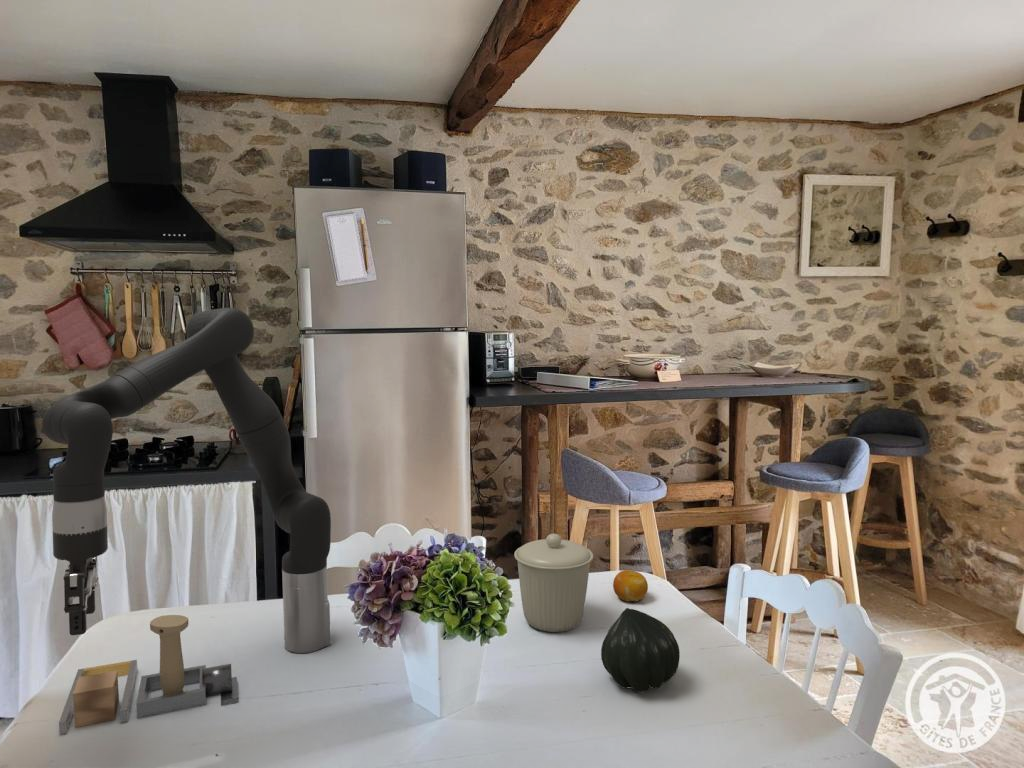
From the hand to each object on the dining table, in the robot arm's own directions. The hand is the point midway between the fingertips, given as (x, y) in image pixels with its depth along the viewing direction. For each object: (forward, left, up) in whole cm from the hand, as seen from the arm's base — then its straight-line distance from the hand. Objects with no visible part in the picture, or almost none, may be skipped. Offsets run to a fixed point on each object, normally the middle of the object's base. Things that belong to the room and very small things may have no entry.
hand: (83, 623), depth 115 cm
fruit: (-116, -18, -22) cm, 119 cm away
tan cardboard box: (0, -8, -20) cm, 22 cm away
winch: (-15, -9, -22) cm, 28 cm away
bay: (0, -13, -22) cm, 25 cm away
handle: (-12, -9, -21) cm, 26 cm away
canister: (-91, -13, -22) cm, 95 cm away
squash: (-95, +17, -22) cm, 99 cm away
